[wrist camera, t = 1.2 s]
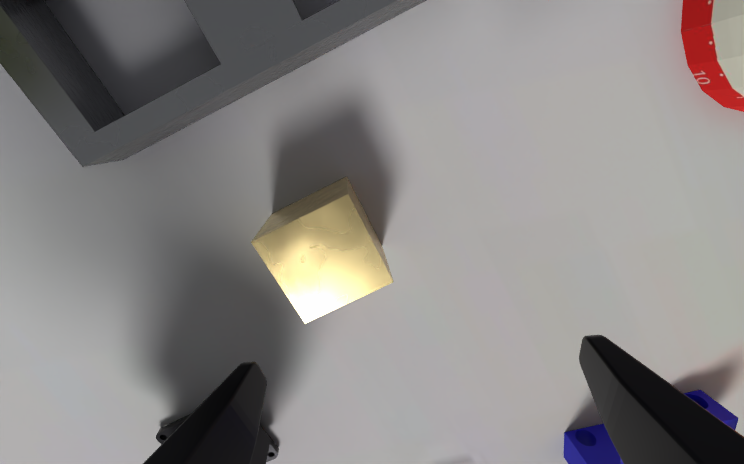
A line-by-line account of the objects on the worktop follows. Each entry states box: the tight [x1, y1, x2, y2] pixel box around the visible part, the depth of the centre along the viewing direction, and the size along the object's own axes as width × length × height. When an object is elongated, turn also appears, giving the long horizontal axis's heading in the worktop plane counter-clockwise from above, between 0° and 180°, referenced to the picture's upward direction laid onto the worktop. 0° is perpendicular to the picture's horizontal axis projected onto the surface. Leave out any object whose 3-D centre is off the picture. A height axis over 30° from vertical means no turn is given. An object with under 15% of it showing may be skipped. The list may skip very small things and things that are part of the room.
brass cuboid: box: [251, 177, 393, 323], centre depth 18 cm, size 5×5×5 cm
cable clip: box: [564, 390, 738, 464], centre depth 26 cm, size 12×4×6 cm, turn 100°
